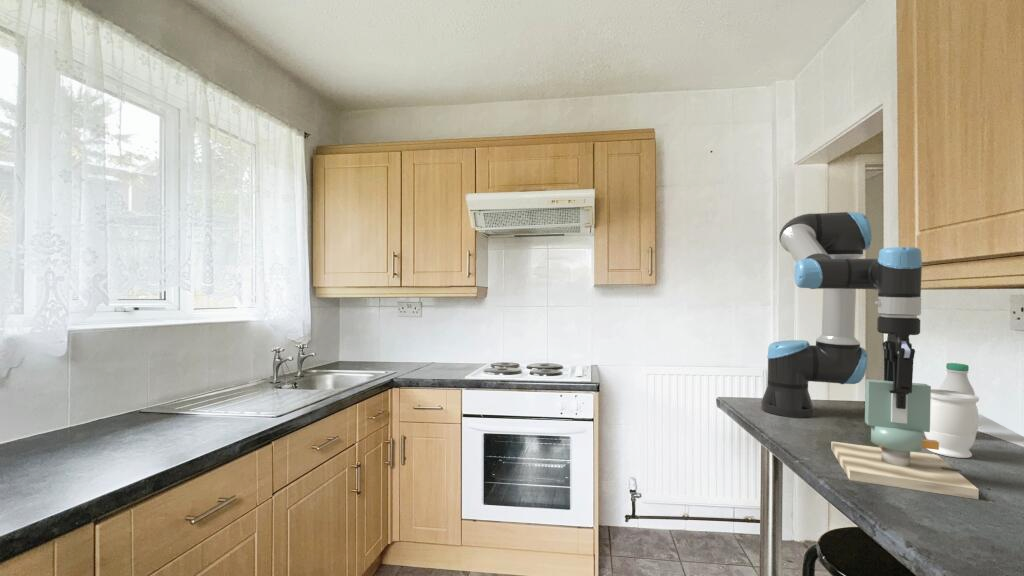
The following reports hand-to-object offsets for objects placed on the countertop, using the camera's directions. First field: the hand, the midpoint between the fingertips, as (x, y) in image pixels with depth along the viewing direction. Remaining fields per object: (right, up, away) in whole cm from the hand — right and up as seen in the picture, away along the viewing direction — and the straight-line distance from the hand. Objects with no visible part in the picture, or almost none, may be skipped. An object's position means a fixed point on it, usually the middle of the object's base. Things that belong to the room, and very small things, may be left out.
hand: (896, 420), depth 108 cm
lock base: (0, -12, 0) cm, 12 cm away
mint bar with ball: (+1, -6, 0) cm, 6 cm away
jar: (+23, -12, +13) cm, 29 cm away
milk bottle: (+39, -12, +27) cm, 49 cm away
